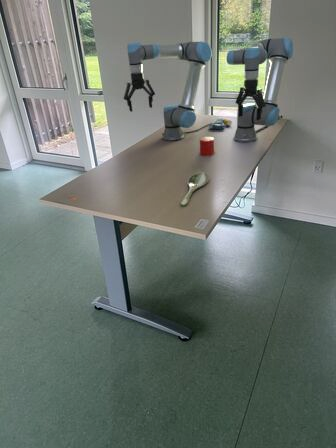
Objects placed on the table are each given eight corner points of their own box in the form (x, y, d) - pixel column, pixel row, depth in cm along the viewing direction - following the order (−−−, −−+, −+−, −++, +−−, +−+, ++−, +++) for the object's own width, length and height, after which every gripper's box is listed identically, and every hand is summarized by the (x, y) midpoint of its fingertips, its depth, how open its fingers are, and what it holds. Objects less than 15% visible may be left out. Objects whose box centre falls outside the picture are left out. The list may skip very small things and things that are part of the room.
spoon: (193, 209, 156) (193, 205, 155) (172, 207, 159) (171, 203, 158) (212, 175, 182) (212, 172, 181) (193, 174, 186) (193, 170, 184)
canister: (205, 150, 220) (205, 136, 215) (216, 152, 215) (216, 138, 210) (197, 154, 215) (196, 139, 210) (208, 156, 209) (208, 142, 204)
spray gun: (234, 122, 269) (216, 122, 275) (234, 117, 267) (216, 117, 273) (226, 131, 254) (207, 130, 260) (226, 125, 251) (207, 124, 258)
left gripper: (119, 75, 190) (124, 114, 201) (158, 70, 200) (161, 106, 211) (114, 74, 196) (120, 111, 207) (152, 69, 205) (156, 104, 216)
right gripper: (229, 78, 191) (229, 116, 202) (264, 81, 174) (261, 122, 185) (239, 76, 195) (237, 113, 206) (274, 79, 177) (270, 119, 188)
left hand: (141, 109), depth 209 cm, fingers open, 13 cm apart
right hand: (249, 118), depth 195 cm, fingers open, 13 cm apart
